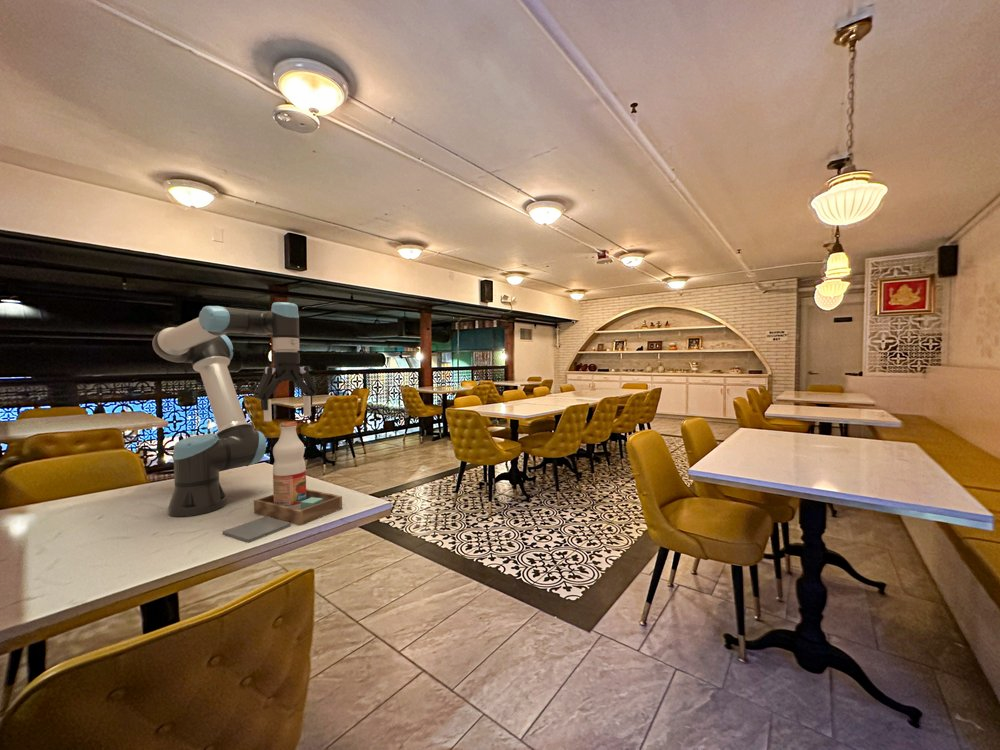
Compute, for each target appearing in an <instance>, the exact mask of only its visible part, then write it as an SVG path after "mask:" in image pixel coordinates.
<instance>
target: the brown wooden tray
mask: <svg viewBox="0 0 1000 750" xmlns="http://www.w3.org/2000/svg"><path fill="white" fill-rule="evenodd" d="M306 497H307V499H309V498H311V497H315V498H323V502H321V503H318V504H316V505H313V506H310V507H307V508H305V509H302V510H299V509H295V508H290V507H286V506H282V505H278V504H274V494H271V495H268V496H264V497H261V498H257V499H254V500H253V513H254V514H256V515H261V516H262V517H265V516H266V517H269V518H273V519H277V520H280V521H284V522H288V523H291V524H295V525H298V526H302V525H305V524H307V523H310V522H311V521H315V520H318V519H320V518H322V517H324V516H323V515H325V516H327V515H329V514H328V513H330V514H332V513H335V512H337V511H339V510H338V509H340V510H342V509H343V496H342V495H337V494H333V493H329V492H328V493H327V492H322V491H317V490H313V489H308V488H306ZM341 508H342V509H341ZM336 510H337V511H336ZM334 511H335V512H334ZM331 512H332V513H331ZM326 514H327V515H326ZM319 517H320V518H319Z"/></svg>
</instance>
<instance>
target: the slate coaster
mask: <svg viewBox="0 0 1000 750" xmlns="http://www.w3.org/2000/svg"><path fill="white" fill-rule="evenodd" d="M291 526H292V523H289V522H286V521H282V520H278V519H275V518H271V517H267V516H262V517H260V518H257V519H254V520H250V521H248V522H244V523H242V524H239V525H237V526H234V527H231V528H228V529H225V530H222V535H224V536H228V537H229V538H233V539H235V540H236V539H237V540H239V541H243V542H245V543H252V542H254V541H257V540H259V539H262V538H265V537H267V536H270V535H272V534H274V533H277V532H279V531H282V530H285V529H287V528H289V527H291Z"/></svg>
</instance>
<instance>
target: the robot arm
mask: <svg viewBox="0 0 1000 750" xmlns="http://www.w3.org/2000/svg"><path fill="white" fill-rule="evenodd" d="M226 334H247V335H248V334H249V335H250V334H251V335H256V336H268V335H272V350H273V351H274V352H273V353H272V362H273V365H274V366H273V367H272V366H266V367H265V366H264V368H263V373H262V376H261V379H260V381H259V383H258V385H257V387H256V390H255V391H254V394H253V398H255V399H258V400H260V409H261V411H263V421H264V422H272V421H273V419H272V418H273V417H272V416H273V414H272V412H273V411H272V399H269V398H270V397H271V396H272V395H273V393H274V392H275V391H276V389H277V387H278V386H279V385H280V384H281V383H283V382H290V381H292V382H294V384H296V385H297V387H298V388H299V389H300V390H301V391H302V393H303V394H304V395H303V396H302V401H303V402H302V403H303V405H302V406H303V416H307V417H309V416H310V417H312V411H311V410H312V407H311V406H313V397H314V396H315V394H318V392H319V391H318V389H317V387H316V384H315V383H314V381H313V380H314V379H313V378H312V376H311V374H310V371H309V370H310V369H309V367H308V366H300V363H301V357H300V355H301V353H300V352H299V351H300V315H299V306H298V305H297V304H296V303H294V302H293V303H292V302H288V301H287V302H286V301H285V302H284V301H283V302H282V301H281V302H280V301H277V302H276V301H275V302H273V303H272V305H271V310H269V311H262V310H253V309H245V308H236V307H235V308H233V307H227V306H222V305H221V306H220V305H205V306H203V307H202V309H201V310H200V311H199V314H198V317H196V318H193V319H192V320H190V321H187V322H185V323H182V324H180V325H179V326H176V327H174V326H173V327H167V328H163V329H161V330H159V331H158V332H157V333H156V334H155V335H154V336H153V338H152V343H151V344H152V348H153V351H154V352H155V353H156V355H158V356H159V357H160V358H162V359H164V360H166V361H169V362H172V363H188V364H191V366H192V369H193V370H194V371H195V372H198V373H199V374H200V377H201V380H202V383H203V386H204V389H205V393H206V395H207V398H208V401H209V404H210V407H211V411H212V413H213V417H214V420H215V423H216V426H217V428H218V429H217V430H218V431H216V433H205V434H198V435H193V436H189V437H186V438H183V439H181V440H179V441H177V442H175V444H174V446H173V454H172V459H173V477H174V480H173V481H174V490H173V492H172V495H171V498H170V500H169V504H168V506H167V507H168V509H167V510H168V512H167V513H168V515H169V516H171V517H179V518H180V517H191V516H198V515H202V514H207V513H210V512H214V511H218V510H220V509H221V508H223V507H225V506H226V505H227V496H226V494H225V490H224V489H223V487H222V484H221V483H220V473H221V472H224V471H229V470H233V469H237V468H242V467H249V466H250V465H254V464H257V463H259V462H260V461H261V460H262V459H263V458H264V456H265V453H266V450H267V441H266V439H267V438H266V436H265V435H264V433H263V432H262V431H260V430H255V428H254V425H253V424H252V423H249V422H247V420H246V416H245V414H244V411H243V408H242V405H241V402H240V400H239V397H238V394H237V391H236V389H235V386H234V382H233V380H232V376H231V374H230V371H229V368H228V367H229V366H230V363H231V360H232V359H233V356H234V351H233V350H234V347H233V343H232V341H231V339H230V338H229V337H228V336H227V335H226ZM273 374H274V376H273ZM300 374H301V375H300ZM272 376H273V378H272Z"/></svg>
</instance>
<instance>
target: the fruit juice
mask: <svg viewBox="0 0 1000 750" xmlns="http://www.w3.org/2000/svg"><path fill="white" fill-rule="evenodd" d="M297 426H298V423H297V421H282V422H279V429H280V434H279V437H278V441H277V442H276V443H275V444H274V446H273V448H272V455H273V458H274V463H273V465H272V491H273V494H274V504H278V505H282V506H286V507H290V508H295V509H299V510H301V502H302V501H304V500H306V499H307V497H306V489H307V467H306V466H307V465H306V461H305V459H304V455H305V452H306V451H305V450H306V447H305V445H304V443H303V442H302V440H301V439H300V438H299V435H298V434H297V433H298V432H297V429H296V428H297ZM273 494H272V495H273Z"/></svg>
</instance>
